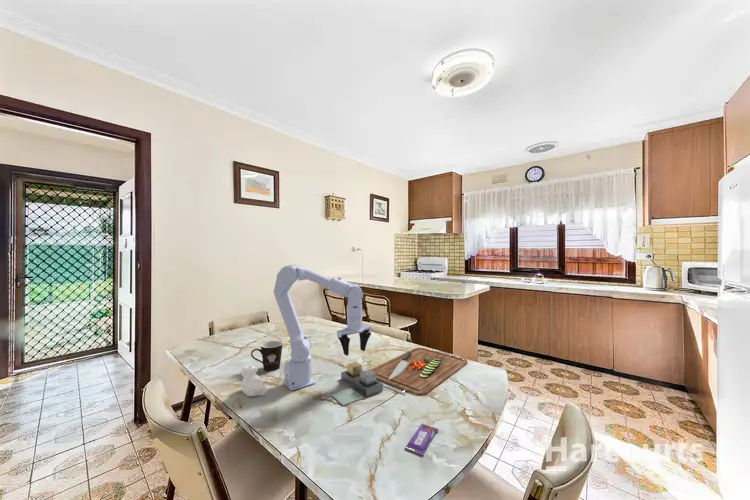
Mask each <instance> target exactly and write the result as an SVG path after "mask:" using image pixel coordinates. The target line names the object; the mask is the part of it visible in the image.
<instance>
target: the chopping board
mask: <svg viewBox="0 0 750 500" xmlns="http://www.w3.org/2000/svg"><path fill="white" fill-rule="evenodd" d="M429 349H432V350H429ZM433 350H436V351H433ZM437 351H438V352H437ZM441 352H442V353H441ZM450 355H451V356H450ZM457 357H459V358H457ZM463 359H464V360H463ZM467 364H468V360H467V359H466V358H465V357H464V358H463V357H461V356H460V355H456V354H452V353H450V352H449V353H448V352H446V351H442V350H437V349H434V348H425V347H415V348H413V349H411V350H408V351H406V352H404V353H402V354H400V355H398V356H395V357H393V358H392V359H390V360H388V361H385V362H382V364H379V365H377V366H374V367H372V368H370V370H371V371H373V372H375V373H376V380H377V381H379V382H381V383H382V384H383V388H386V389H388V390H391V391H393V392H396V393H398V394H401V395H402V396H405V395H406V392H407V393H408V394H412V395H415V396H426V395H428V394H429V393H431V391H433V390H435V389H436V388H438V387H439V385H441V384H442V383H444V382H445V381H446V380H448V379H449V378H450V377H452V376H453V375H455V374H457V372H459V371H460V370H461V369H462V368H464V367H465V366H467ZM384 383H385V384H384ZM386 384H387V385H386ZM389 385H390V386H389ZM391 386H392V387H391ZM394 387H395V388H394ZM398 389H399V390H398Z"/></svg>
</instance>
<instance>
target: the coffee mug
mask: <svg viewBox="0 0 750 500" xmlns="http://www.w3.org/2000/svg"><path fill="white" fill-rule="evenodd" d="M255 351H258V352H260V354H261V359H262V360H261V359H258V358H257V357H255V356H253V355H254V354H253V353H254V352H255ZM282 352H283V341H280V340H271V341H266V342H263V343H261V344H260V348H254V349H253V350H251V353H250V356H251V358H252V359H253V360H255V361H257V362H258V363H259V362H260V363H261V364H262V367H263V371H265V372H274V371H277V370H279V369H280V368H281V361H282Z"/></svg>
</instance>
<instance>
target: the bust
mask: <svg viewBox="0 0 750 500" xmlns="http://www.w3.org/2000/svg"><path fill="white" fill-rule="evenodd" d="M258 371H259V370H258V368H257V367H255V366H254V365H252V364H246V365H245V366H244V367H242V368H241V371H240V374H241V377H243V378H242V385H241V390H242V392H243V393H244V394H245V396H247V397H251V398H252V397H257V396H261V397H263V396H265V395H266V391H267V389H266V385H265V383H264V381H263V380H262V379H261V377H260V376H259V375H257V372H258Z"/></svg>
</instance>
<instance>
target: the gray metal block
mask: <svg viewBox="0 0 750 500" xmlns="http://www.w3.org/2000/svg"><path fill="white" fill-rule="evenodd" d="M362 371H363V372H360V383H361V384H362V385H364V386H365V387H369V386H372V385H374V384H376V373H375V372H373V371H371V368H370V369H366V370H362Z"/></svg>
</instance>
